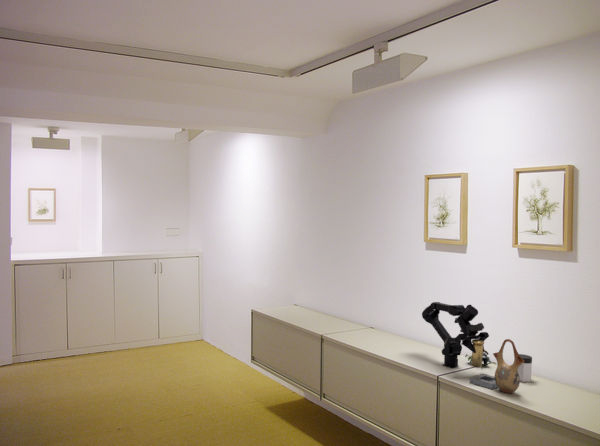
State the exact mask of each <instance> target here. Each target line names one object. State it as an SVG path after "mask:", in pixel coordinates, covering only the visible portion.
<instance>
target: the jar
mask: <svg viewBox="0 0 600 446" xmlns="http://www.w3.org/2000/svg"><path fill="white" fill-rule="evenodd" d="M518 354H519V355H520V357H521V358H522V359H523V360H524V363H523V364H521V365H520V366H519V368H518V373H519V376H520V382H522V383H530V382H532V368H533V367H532V366H533V357H532V356H531V355H527V354H522V353H521V354H520V353H518Z"/></svg>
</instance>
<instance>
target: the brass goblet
mask: <svg viewBox="0 0 600 446" xmlns="http://www.w3.org/2000/svg"><path fill="white" fill-rule="evenodd" d="M471 342H472V344H473V346H474V348H475V351H476V353H473V352H472V351H471V352H472V353H471V356H472V362H471V367H472V368H478V369H479V368H480V369H481V368H482V367H483V361H482V354H483V353H484V352H483V345H484V344H485V341H482V340H475V339H471Z"/></svg>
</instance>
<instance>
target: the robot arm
mask: <svg viewBox="0 0 600 446" xmlns="http://www.w3.org/2000/svg"><path fill="white" fill-rule="evenodd" d="M441 312H445V313H448V314H449V316H452V317H455V318H454V319H455V320H454V321H453V322H454V324H458V325H459V328H460V330H459V332H460V333H459V334H457V335H456V337H452V336H451V335H450V332H449V331H448V330H447V329H446V328H445V326H444V325H443V323H442V322H441V321H440V319H439V317H440V316H439V315H440V313H441ZM478 315H479V310H478V309H477V308H476V307H474V306H473V305H472V304H467V305H466V307H465V306H464V305H462V304H455V305H453V304H452V305H451V304H447V303H443V302H439V301H434V302H431V304H430V305H428V306H426V307H425V308H424V309H423V311H422V312H421V317H422V319H423V320H424V321H425V323H428V324H430V325H431V326H432V327H433V328H434V330H435V331H436V333H437V335H438V336H439V337H440V339H442V342H443V348H442V350H441V354H442V355H443V356H444V358H443V359H444V360H443V364H442V367H446V368H450V369H454V368H458V367H460V365H459V359H458V358H459V357H458V356H461V353H462V349H463V346H464V347H466V348H467V349H468V350H469V351H471V352H473V353H476V351H475V348H474V346H473V343H472V340H482V341H484V342H485V341H486V340H487V339H489V337H490V334H489V333H488V332H486V331H483V330H484V329H485V325H484V324H483V322H479V323H476V324H474V323H473V324H472V323H471V321H473V320H474V319H476V317H477V316H478ZM480 331H481V332H480ZM484 346H485V345H484V344H483V353H485V352H484V349H485V347H484Z"/></svg>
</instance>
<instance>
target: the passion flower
mask: <svg viewBox="0 0 600 446" xmlns="http://www.w3.org/2000/svg"><path fill="white" fill-rule="evenodd" d="M488 355H489V352H488V351H487V350H486V349H485V348H484V352H483V354H482V364H483V366H489V364H491V363H492V361H491V359H490V356H489V357H488ZM467 357H468V358H467ZM465 358H467V361H469V363H472V355H471V356H470V355H468V354H467V353H466V355H465Z"/></svg>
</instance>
